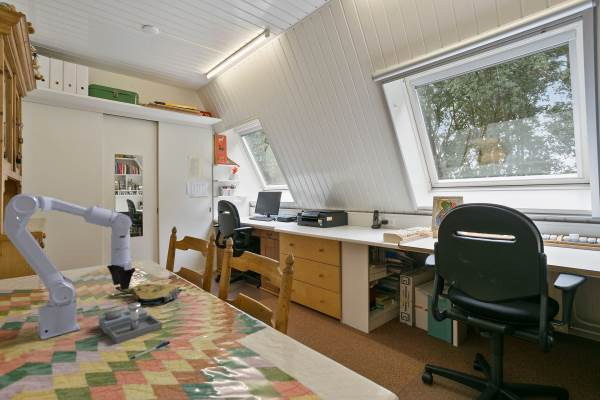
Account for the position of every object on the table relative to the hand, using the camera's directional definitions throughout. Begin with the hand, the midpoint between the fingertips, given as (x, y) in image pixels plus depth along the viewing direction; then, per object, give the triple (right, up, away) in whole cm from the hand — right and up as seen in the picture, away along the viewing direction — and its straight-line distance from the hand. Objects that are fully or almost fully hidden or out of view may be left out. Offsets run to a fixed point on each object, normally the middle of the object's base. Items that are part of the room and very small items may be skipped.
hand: (121, 286), depth 104 cm
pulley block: (0, -10, +19) cm, 21 cm away
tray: (+11, -11, -11) cm, 19 cm away
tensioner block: (+4, -11, -6) cm, 13 cm away
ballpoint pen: (+22, -12, -22) cm, 33 cm away
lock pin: (+11, -10, -11) cm, 18 cm away
